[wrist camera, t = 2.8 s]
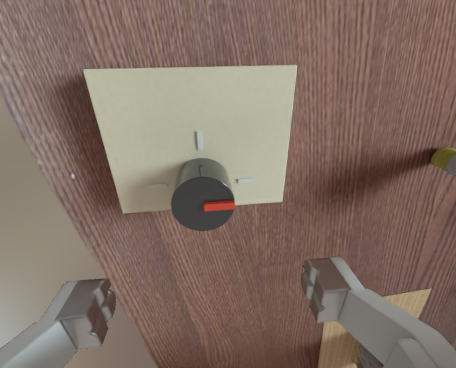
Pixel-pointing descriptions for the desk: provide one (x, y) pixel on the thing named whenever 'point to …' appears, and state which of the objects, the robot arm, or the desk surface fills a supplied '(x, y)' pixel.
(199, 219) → the burner knob
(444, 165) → the light bulb
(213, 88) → the stove panel
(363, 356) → the ruin model on sheet
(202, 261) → the desk surface
